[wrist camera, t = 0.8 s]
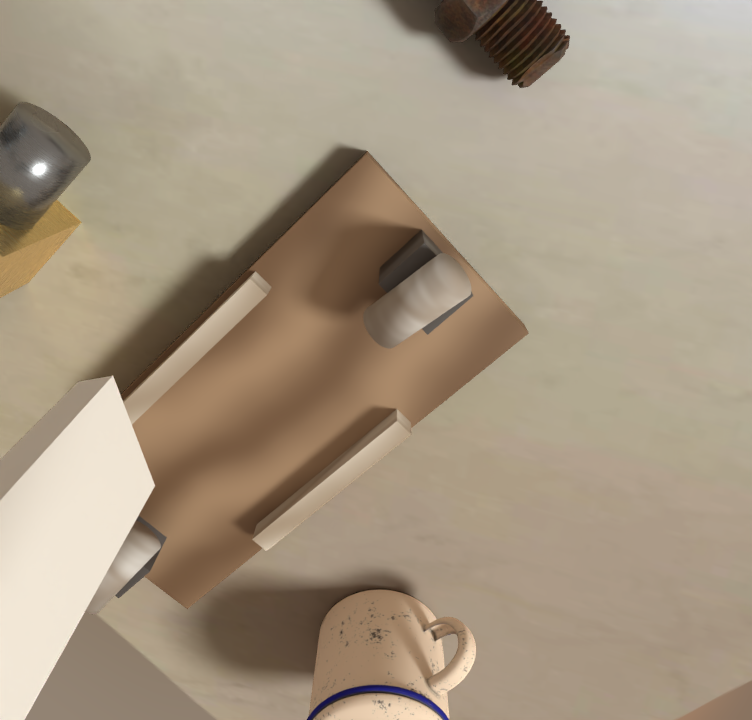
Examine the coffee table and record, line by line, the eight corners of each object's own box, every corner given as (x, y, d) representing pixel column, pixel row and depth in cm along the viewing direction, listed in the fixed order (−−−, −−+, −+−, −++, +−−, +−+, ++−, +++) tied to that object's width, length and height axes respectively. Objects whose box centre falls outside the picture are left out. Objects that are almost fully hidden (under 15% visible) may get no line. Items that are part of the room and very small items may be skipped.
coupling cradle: (39, 474, 43) (-26, 546, 36) (368, 150, 35) (362, 165, 28) (192, 593, 46) (159, 679, 39) (524, 323, 38) (553, 373, 31)
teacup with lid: (374, 700, 50) (369, 870, 39) (289, 628, 47) (260, 789, 36) (503, 620, 46) (537, 781, 36) (420, 538, 44) (430, 685, 33)
